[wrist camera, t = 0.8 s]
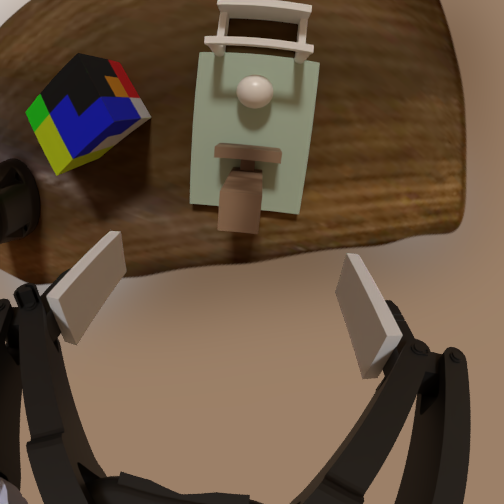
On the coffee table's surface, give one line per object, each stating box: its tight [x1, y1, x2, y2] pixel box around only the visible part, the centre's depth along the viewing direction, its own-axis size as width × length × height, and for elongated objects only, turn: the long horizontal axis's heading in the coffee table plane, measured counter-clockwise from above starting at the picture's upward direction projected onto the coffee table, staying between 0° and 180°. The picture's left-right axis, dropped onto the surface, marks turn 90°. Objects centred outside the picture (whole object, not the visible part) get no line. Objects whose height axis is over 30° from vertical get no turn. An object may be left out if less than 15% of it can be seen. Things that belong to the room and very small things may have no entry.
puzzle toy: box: [26, 53, 151, 176], centre depth 26 cm, size 10×10×10 cm
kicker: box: [214, 143, 282, 234], centre depth 27 cm, size 7×6×11 cm
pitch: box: [190, 0, 320, 214], centre depth 27 cm, size 14×26×8 cm, turn 175°
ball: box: [236, 75, 274, 109], centre depth 26 cm, size 4×4×4 cm
